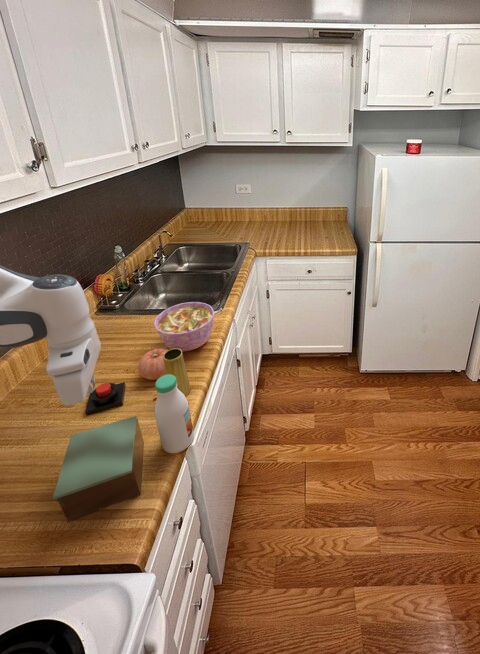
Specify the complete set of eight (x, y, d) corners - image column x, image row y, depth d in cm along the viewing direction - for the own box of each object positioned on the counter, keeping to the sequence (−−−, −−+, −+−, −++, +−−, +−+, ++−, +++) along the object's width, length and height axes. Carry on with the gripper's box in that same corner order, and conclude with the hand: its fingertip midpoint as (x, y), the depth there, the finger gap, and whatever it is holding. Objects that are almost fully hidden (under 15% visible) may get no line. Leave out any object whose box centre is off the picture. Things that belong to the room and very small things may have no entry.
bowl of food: (189, 322, 134) (184, 297, 129) (228, 335, 126) (225, 309, 122) (147, 352, 117) (140, 324, 113) (190, 369, 109) (184, 340, 105)
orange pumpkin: (139, 389, 101) (133, 369, 98) (142, 366, 110) (137, 347, 107) (177, 380, 105) (173, 360, 102) (177, 358, 114) (173, 339, 111)
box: (140, 494, 73) (132, 468, 70) (67, 522, 68) (55, 495, 65) (144, 442, 85) (137, 417, 82) (81, 462, 80) (71, 437, 77)
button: (96, 398, 94) (94, 393, 93) (98, 389, 97) (97, 385, 97) (110, 394, 95) (109, 390, 95) (112, 385, 98) (111, 381, 98)
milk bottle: (184, 457, 81) (171, 395, 74) (155, 451, 83) (140, 391, 75) (199, 429, 88) (189, 371, 81) (173, 425, 90) (160, 367, 82)
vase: (180, 381, 104) (173, 344, 99) (195, 388, 102) (188, 350, 96) (164, 395, 99) (156, 357, 94) (179, 402, 97) (171, 364, 91)
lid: (132, 472, 69) (131, 470, 69) (53, 500, 64) (52, 497, 64) (137, 417, 82) (136, 415, 81) (71, 437, 77) (70, 434, 76)
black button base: (86, 415, 92) (83, 406, 91) (92, 395, 99) (89, 386, 98) (122, 405, 96) (120, 396, 94) (125, 386, 103) (123, 377, 101)
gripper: (70, 320, 82) (85, 364, 88) (42, 376, 65) (63, 427, 70) (99, 314, 85) (112, 358, 90) (80, 368, 67) (97, 418, 72)
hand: (90, 389), depth 80 cm, fingers closed
